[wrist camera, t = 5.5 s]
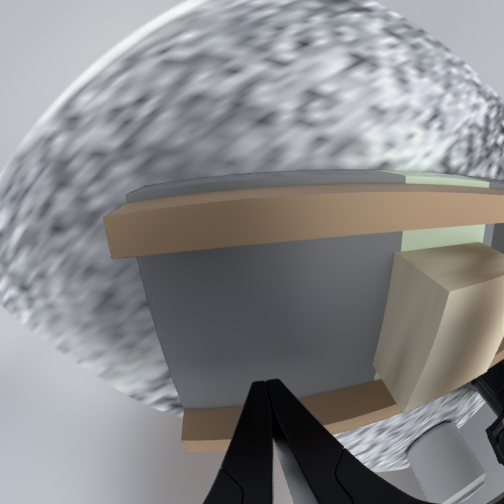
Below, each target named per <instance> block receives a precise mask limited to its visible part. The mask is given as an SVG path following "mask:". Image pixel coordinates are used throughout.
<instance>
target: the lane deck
mask: <svg viewBox="0 0 504 504" xmlns="http://www.w3.org/2000/svg"><path fill="white" fill-rule="evenodd" d="M126 199H127V204H125V205H123V206H121V207H119V208H118V209H116V210H114V211H112V212H111V213H109V214H107V215H105V216H104V217H103V219H104V224H105V229H106V234H107V239H108V244H109V248H110V252H111V257H112V259H116V258H125V257H135V256H137V259H138V263H139V268H140V272H141V276H142V281H143V285H144V289H145V293H146V296H147V300H148V304H149V308H150V311H151V315H152V318H153V322H154V325H155V328H156V332H157V335H158V338H159V341H160V344H161V348H162V351H163V354H164V357H165V360H166V362H167V365H168V368H169V371H170V374H171V377H172V379H173V382H174V385H175V387H176V390H177V393H178V395H179V398H180V400H181V403H182V405H183V408H184V416H183V427H182V438H181V440H182V443H183V444H184V446H185V448H186V450H187V451H188V452H204V451H207V452H208V451H227V449H228V446H229V444H230V441H231V438H232V436H233V433H234V430H235V428H236V425H237V422H238V420H239V417H240V414H241V411H242V409H243V406H244V403H245V400H246V398H247V395H248V392H249V389H250V386H251V384H252V382H253V381H260V380H264V381H266V380H268V379H276V378H278V379H280V380H281V381H282V382H283V383H284V384H285V385H286V387H287V388H288V389H289V390H290V391H291V392H292V393H293V394H294V395H295V396H296V398H297V399H298V400H299V401H300V402H301V403H302V404H303V405H304V406H305V407H306V408H307V409H308V410H309V412H310V413H311V414H312V415H313V416H314V417H315V418H316V419H317V420H318V421H319V422H320V423H321V424H322V425H323V426H324V427H325V428H326V429H327V430H328V431H329V432H330V433H331V434H332V435H334V434H337V433H341V432H345V431H349V430H352V429H356V428H359V427H362V426H365V425H369V424H372V423H375V422H378V421H381V420H383V419H386V418H389V417H392V416H394V415H397V414H400V413H402V412H401V410H400V408H399V407H398V405H397V403H396V402H395V400H394V398H393V397H392V395H391V393H390V392H389V390H388V389H387V387H386V385H385V384H384V382H383V380H382V379H381V377H380V376H379V374H378V372H377V371H376V369H375V368H374V366H373V365H372V364H373V360H374V356H375V353H376V349H377V345H378V341H379V336H380V332H381V328H382V323H383V318H384V314H385V308H386V303H387V298H388V292H389V286H390V280H391V273H392V266H393V259H394V252H400V251H409V250H417V249H426V248H434V247H442V246H450V245H458V244H465V243H473V242H481V243H483V244H485V245H487V246H489V247H491V248H493V249H495V250H497V251H499V252H501V253H503V254H504V181H502V180H496V179H489V178H481V177H473V176H464V175H454V174H443V173H430V172H415V171H394V170H303V171H281V172H264V173H250V174H238V175H227V176H216V177H207V178H198V179H190V180H182V181H174V182H167V183H160V184H153V185H147V186H144V187H142V188H139V189H137V190H135V191H132V192H130V193H128V194H126ZM502 359H504V337H503V339H502V341H501V343H500V346H499V348H498V350H497V352H496V354H495V356H494V358H493V360H492V362H491V364H490V366H489V368H490V367H492V366H493V365H495V364H497V363H498V362H499V361H501V360H502ZM489 368H488V369H489ZM273 446H275V444H274V440H273Z"/></svg>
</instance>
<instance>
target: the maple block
mask: <svg viewBox="0 0 504 504" xmlns="http://www.w3.org/2000/svg"><path fill="white" fill-rule="evenodd" d="M503 337H504V254H503V253H501V252H499V251H497V250H495V249H493V248H491V247H489V246H487V245H485V244H483V243H481V242H473V243H465V244H458V245H450V246H442V247H434V248H426V249H417V250H409V251H400V252H394V259H393V266H392V273H391V280H390V286H389V292H388V298H387V303H386V308H385V314H384V318H383V323H382V328H381V332H380V336H379V341H378V345H377V349H376V353H375V356H374V360H373V364H372V365H373V366H374V368H375V369H376V371H377V372H378V374H379V376H380V377H381V379H382V380H383V382H384V384H385V385H386V387H387V389H388V390H389V392H390V393H391V395H392V397H393V398H394V400H395V402H396V403H397V405H398V407H399V408H400V410H401V412H402V413H405V412H408V411H410V410H413V409H415V408H417V407H420V406H422V405H424V404H427V403H429V402H431V401H433V400H435V399H437V398H439V397H442V396H444V395H446V394H448V393H450V392H451V391H453V390H455V389H457V388H459V387H461V386H463V385H465V384H466V383H468V382H470V381H472V380H473V379H475V378H477V377H478V376H480V375H482V374H483V373H485V372H487V370H488V368H489V366H490V364H491V362H492V360H493V358H494V356H495V354H496V352H497V350H498V348H499V346H500V343H501V341H502V339H503Z"/></svg>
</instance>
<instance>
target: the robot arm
mask: <svg viewBox="0 0 504 504" xmlns="http://www.w3.org/2000/svg"><path fill="white" fill-rule="evenodd" d="M463 386H464V387H465V388H468V389H471V390H474V391H477V392H478V393H479V394H480V395H481V397H482V398H483V399H484V400H485V401H486V403H487V404H488V405H489V406H490V408H491V409H492V410H493V411H494V413H495V414H496V415H497V417H498V418H497V419H496V420H495V422H494V423H493V424H492V425H491V426H489V427H488V428H487V429H486V433H487V435H488V439H489V441H490V443H491V445H492V447H493V450H494V452H495V454H496V457H497V460H498V462H499V464H502V465H503V466H504V359H502V360H501V361H499V362H498V363H497V364H495V365H493V366H492V367H490V368H489V369H488V370H487V372H485V373H483V374H482V375H480V376H478V377H477V378H475V379H473V380H472V381H470V382H468V383H466V384H465V385H463ZM273 440H274V444H275V447H276V450H277V454H278V457H279V460H280V463H281V466H282V469H283V472H284V475H285V478H286V481H287V484H288V487H289V489H290V493H291V496H292V498H293V501H294V504H438V503H432V502H426V501H422V500H419V499H416V498H414V497H412V496H410V495H408V494H406V493H405V492H403V491H401V490H400V489H398V488H396V487H395V486H393V485H392V484H390V483H389V482H387V481H386V480H384V479H383V478H381V477H379V476H378V475H377V474H375V473H374V472H373V471H371V470H370V469H368V468H367V467H366V466H365V465H363V464H362V463H361V462H360V461H359V460H358V459H357V458H355V457H354V456H353V455H352V454H351V453H350V452H349V451H348V450H347V449H346V448H344V446H343V445H342V444H341V443H340V442H339V441H338V440H337V439H336V438H335V437H334V436H333V435H332V434H331V433H330V432H329V431H328V430H327V429H326V428H325V427H324V426H323V425H322V424H321V423H320V422H319V421H318V420H317V419H316V418H315V417H314V416H313V415H312V414H311V413H310V412H309V410H308V409H307V408H306V407H305V406H304V405H303V404H302V403H301V402H300V401H299V400H298V399H297V398H296V396H295V395H294V394H293V393H292V392H291V391H290V390H289V389H288V388H287V387H286V385H285V384H284V383H283V382H282V381H281V380H280V379H278V378H276V379H268V380H266V381H264V380H260V381H253V382H252V384H251V386H250V389H249V392H248V395H247V398H246V400H245V403H244V406H243V409H242V411H241V414H240V417H239V420H238V422H237V425H236V428H235V430H234V433H233V436H232V438H231V441H230V444H229V446H228V449H227V451H226V454H225V457H224V459H223V462H222V464H221V468H220V469H219V471H218V474H217V476H216V479H215V481H214V483H213V485H212V487H211V490H210V491H209V493H208V495H207V497H206V499H205V500H204V502H203V504H274V467H273V466H274V464H273V461H274V459H273ZM487 504H504V492H503V493H502V494H500V495H499V496H497V497H496V498H494V499H493V500H491V501H490V502H488V503H487Z"/></svg>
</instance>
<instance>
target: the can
mask: <svg viewBox="0 0 504 504" xmlns="http://www.w3.org/2000/svg"><path fill="white" fill-rule="evenodd" d="M409 450H410V451H409V453H408V455H407V459H408V461H409V463H410V465H411V467H412V469H413V471H414V473H415V475H416V477H417V479H418V481H419V483H420V485H421V488H422V490H423V492H424V494H425V496H426V498H427V500H428V502H432V503H438V504H459V503H461V502H462V501H465V500H466V499H468V498H469V497H471V496H472V494H474V492H476V491H477V490H479V489H480V488H481V487H483V486H484V485H485V484H486V483H484V482H483V480H484V477H485V474H486V472H485V470H484V468H483V466H482V465H481V463H480V461H479V460H478V458H477V457H476V455H475V454H474V452H473V450H472V449H471V447H470V446H469V444H468V443H467V441H466V440H465V438H464V437H463V435H462V434H461V432H460V431H459V429H458V428H457V426H456V425H455V423H442V424H440V425H438V426H436V427H434V428H432V429H431V430H429V431H428V432H426V433H425V434H424V435H422V436H421V437H420V438H419V439H418V440H416V441H415V442H414V443H413V444H412V446H411V447H410V449H409Z"/></svg>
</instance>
